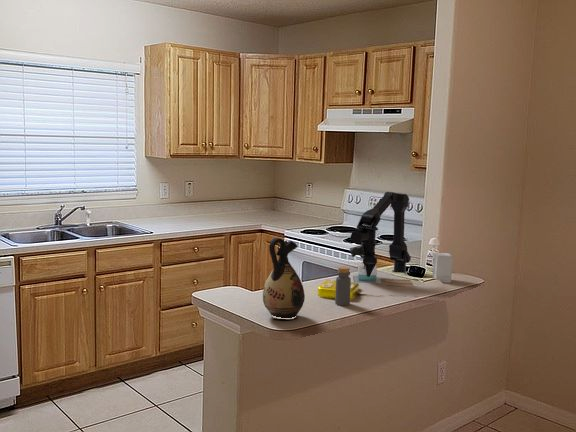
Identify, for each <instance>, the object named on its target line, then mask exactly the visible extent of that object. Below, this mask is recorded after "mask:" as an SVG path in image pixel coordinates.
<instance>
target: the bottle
mask: <svg viewBox="0 0 576 432" xmlns="http://www.w3.org/2000/svg"><path fill="white" fill-rule="evenodd" d="M337 270H338V271H337V273H336V275H338V276H337V277H336V278H335V281H336V295H335V299H334V300H335V305H336V304H337V305H336V306H339V305H340V306H341V307H347V306H349V305H350V304H351V303H350V302H351V300H350V287H351V282H352V279H351V277H350V275H351V272H350V270H351V267H349V266H347V265H346V266H345V265H341V266H338V268H337Z"/></svg>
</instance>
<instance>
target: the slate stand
mask: <svg viewBox="0 0 576 432" xmlns="http://www.w3.org/2000/svg"><path fill="white" fill-rule="evenodd" d="M352 282H353V283H358V284H359V283H362V284H363V283H364V284H382V281H381V278H380V277H379V276H376V281H359V280H358V275H352Z"/></svg>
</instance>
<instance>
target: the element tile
mask: <svg viewBox="0 0 576 432" xmlns="http://www.w3.org/2000/svg"><path fill="white" fill-rule="evenodd" d="M359 287H360V285H359V283H356V282H355V283H354V282H353V281H351V287H350V301H353V300H354V299H355V298H356V297H357V296H358V294H359V293H358V291H359V289H360V288H359ZM335 295H336V280H332V279H326V280H325V281H324V282H322V283H321V284H320V285H318V287H317V297H318V296H320V297H319V298H323V297H326V298H325V299H331V298H334V299H333V300H335ZM355 296H356V297H355Z"/></svg>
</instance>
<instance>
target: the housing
mask: <svg viewBox="0 0 576 432" xmlns="http://www.w3.org/2000/svg"><path fill="white" fill-rule="evenodd" d="M377 272H378V268H377V266H375V267H374V269H373V271H372V273H371V275H370V277H367V273H366V266H364V265H358V266H357V276H358V280H359V281H376V277H378V276H377V275H378V273H377Z"/></svg>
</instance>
